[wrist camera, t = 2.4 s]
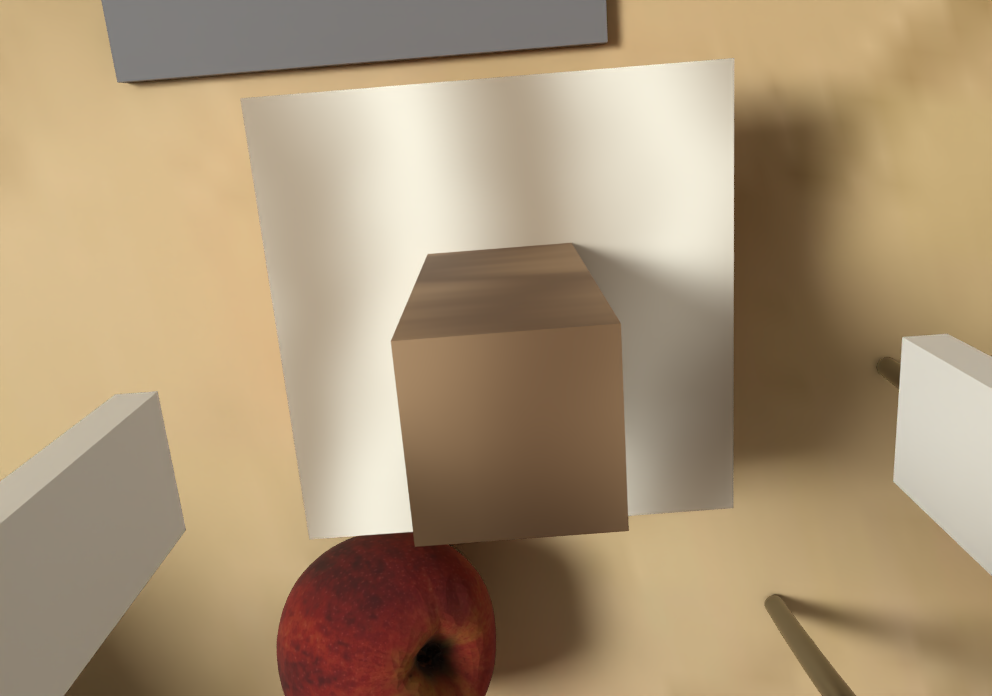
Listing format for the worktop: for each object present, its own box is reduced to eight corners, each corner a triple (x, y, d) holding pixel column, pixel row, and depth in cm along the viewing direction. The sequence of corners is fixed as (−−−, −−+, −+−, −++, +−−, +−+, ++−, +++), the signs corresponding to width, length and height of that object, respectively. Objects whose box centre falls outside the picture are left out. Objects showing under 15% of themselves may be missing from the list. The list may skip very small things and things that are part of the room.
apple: (510, 646, 34) (517, 804, 26) (324, 674, 34) (276, 839, 26) (479, 482, 32) (476, 601, 24) (281, 513, 32) (216, 641, 24)
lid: (323, 506, 28) (217, 761, 17) (262, 99, 24) (77, 91, 13) (714, 477, 27) (860, 715, 17) (712, 62, 24) (897, 24, 13)
